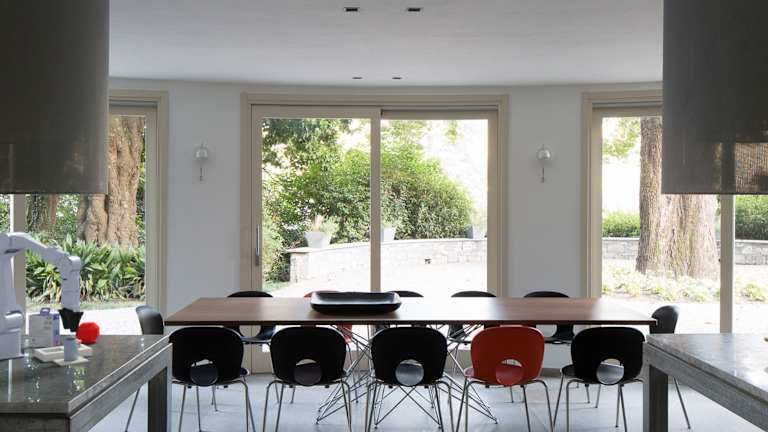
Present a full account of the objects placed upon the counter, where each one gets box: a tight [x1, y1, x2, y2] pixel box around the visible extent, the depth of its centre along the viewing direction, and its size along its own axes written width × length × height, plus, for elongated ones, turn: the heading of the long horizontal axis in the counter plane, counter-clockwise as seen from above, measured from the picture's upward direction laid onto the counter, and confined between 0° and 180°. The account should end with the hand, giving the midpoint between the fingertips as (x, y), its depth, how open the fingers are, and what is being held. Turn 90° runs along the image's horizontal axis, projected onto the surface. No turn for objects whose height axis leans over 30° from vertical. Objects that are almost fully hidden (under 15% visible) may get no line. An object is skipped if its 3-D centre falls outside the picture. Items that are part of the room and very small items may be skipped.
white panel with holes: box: [34, 343, 93, 363], centre depth 256 cm, size 16×12×2 cm
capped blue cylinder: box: [63, 335, 78, 361], centre depth 246 cm, size 4×4×8 cm
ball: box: [75, 321, 101, 344], centre depth 282 cm, size 8×8×8 cm
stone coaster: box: [52, 356, 90, 367], centre depth 246 cm, size 9×9×1 cm
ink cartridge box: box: [27, 307, 61, 348], centre depth 274 cm, size 10×6×14 cm, turn 89°
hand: (70, 330), depth 248 cm, fingers open, 7 cm apart
